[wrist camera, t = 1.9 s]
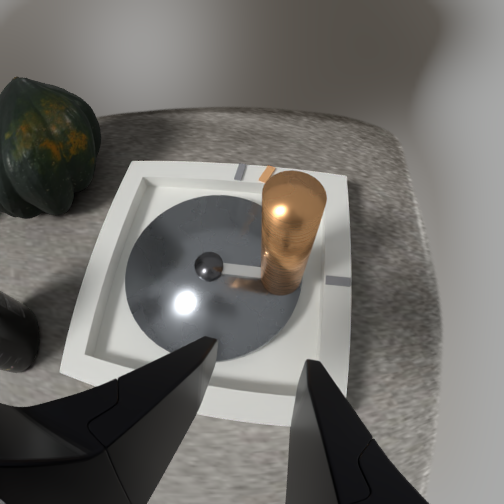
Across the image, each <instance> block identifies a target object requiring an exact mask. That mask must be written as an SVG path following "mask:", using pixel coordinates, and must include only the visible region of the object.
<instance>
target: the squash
mask: <svg viewBox="0 0 504 504" xmlns="http://www.w3.org/2000/svg"><path fill="white" fill-rule="evenodd" d="M100 142H101V133H100V127H99V123H98V121H97V118H96V116H95V114H94V112H93V110H92V109H91V107H90V106H89V105H88V104H87V103H86V102H85V101H83V100H82V99H81V98H80V97H78V96H77V95H74V94H73V93H70V92H68V91H66V90H65V89H62V88H59V87H57V86H54V85H50V84H45V83H41V82H37V81H34V80H30V79H27V78H19V77H14V79H12V81H11V82H10V83H9V84H8V85H7V86H6V87H5V88H4V90H3V91H2V92H1V94H0V211H2V212H5V213H7V214H8V215H10V216H13V217H20V218H25V219H27V218H33V217H35V216H37V215H39V214H40V213H41V212H42V211H44V212H46V213H48V214H52V215H59V214H63V213H65V212H67V211H68V210H69V208H70V206H71V204H72V201H73V197H74V192H80V191H82V190H83V189H85V188H86V187H87V186H89V184H90V183H91V180H92V178H93V175H94V169H95V161H96V157H97V155H98V152H99V148H100Z"/></svg>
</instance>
